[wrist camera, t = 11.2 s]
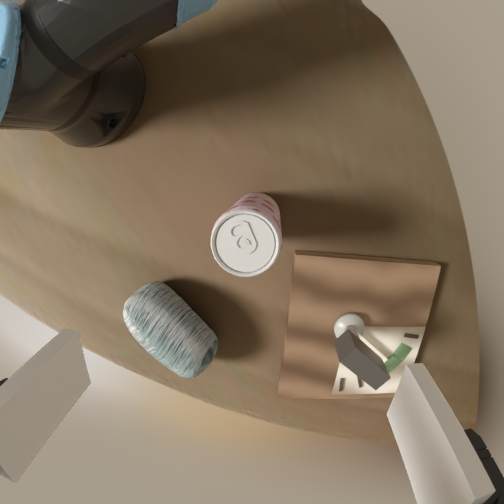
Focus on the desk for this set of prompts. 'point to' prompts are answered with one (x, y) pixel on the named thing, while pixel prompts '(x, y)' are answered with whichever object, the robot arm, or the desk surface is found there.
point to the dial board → (362, 303)
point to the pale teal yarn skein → (170, 329)
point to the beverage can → (248, 236)
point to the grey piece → (359, 351)
